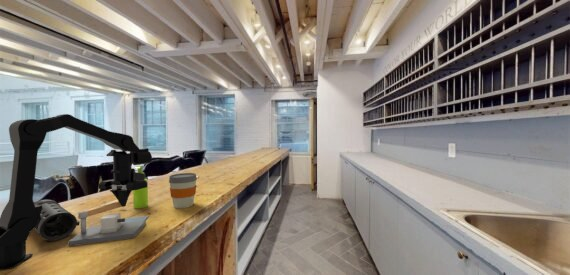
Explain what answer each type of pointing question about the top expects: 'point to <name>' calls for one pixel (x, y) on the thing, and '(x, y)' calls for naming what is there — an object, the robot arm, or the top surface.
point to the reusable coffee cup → (183, 189)
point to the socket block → (95, 235)
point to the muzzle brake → (55, 221)
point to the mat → (136, 219)
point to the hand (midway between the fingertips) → (123, 206)
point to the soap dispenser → (140, 194)
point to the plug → (111, 223)
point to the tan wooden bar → (98, 210)
